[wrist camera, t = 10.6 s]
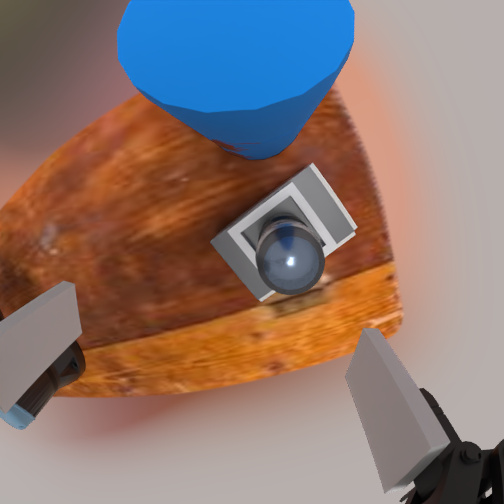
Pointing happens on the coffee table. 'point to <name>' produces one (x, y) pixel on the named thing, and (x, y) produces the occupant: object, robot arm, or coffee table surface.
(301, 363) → the coffee table surface
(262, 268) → the lens
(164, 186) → the coffee table surface
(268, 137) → the thermos
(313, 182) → the grey square frame
